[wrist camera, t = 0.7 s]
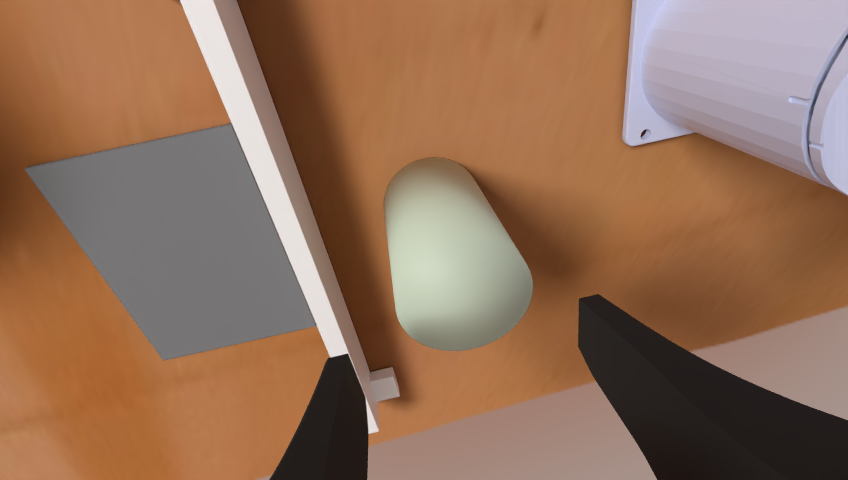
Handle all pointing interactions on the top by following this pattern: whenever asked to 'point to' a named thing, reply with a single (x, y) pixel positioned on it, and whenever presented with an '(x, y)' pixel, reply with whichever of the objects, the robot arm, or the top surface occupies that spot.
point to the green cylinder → (451, 259)
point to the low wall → (281, 184)
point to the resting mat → (180, 239)
